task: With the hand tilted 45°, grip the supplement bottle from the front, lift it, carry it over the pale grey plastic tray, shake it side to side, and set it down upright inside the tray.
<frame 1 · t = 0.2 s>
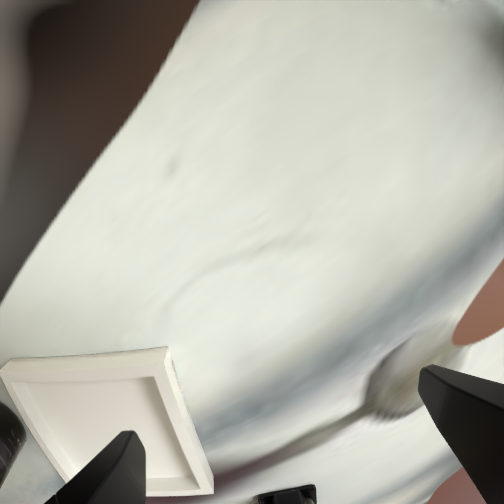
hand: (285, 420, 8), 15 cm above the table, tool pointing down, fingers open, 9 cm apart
supplement bottle: (4, 419, 24), on the table
tray: (110, 427, 24), on the table
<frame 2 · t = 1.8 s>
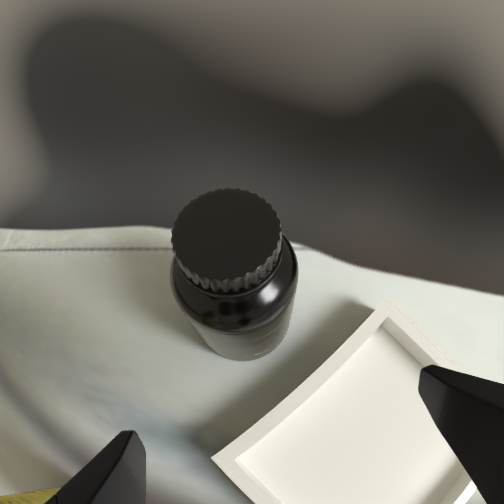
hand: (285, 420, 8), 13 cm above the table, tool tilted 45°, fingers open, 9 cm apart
supplement bottle: (243, 320, 24), on the table
tray: (378, 455, 18), on the table
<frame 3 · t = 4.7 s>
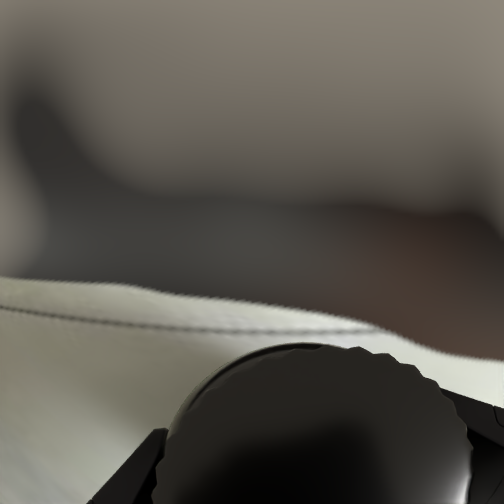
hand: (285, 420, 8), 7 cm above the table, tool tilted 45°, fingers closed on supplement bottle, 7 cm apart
supplement bottle: (284, 450, 13), on the table, touching gripper
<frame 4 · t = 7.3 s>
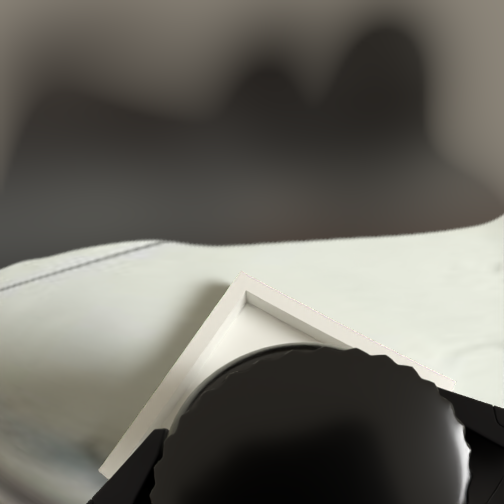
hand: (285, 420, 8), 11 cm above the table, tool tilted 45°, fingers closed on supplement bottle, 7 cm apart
supplement bottle: (286, 449, 14), point 4 cm above the table, touching gripper
tray: (283, 445, 17), on the table
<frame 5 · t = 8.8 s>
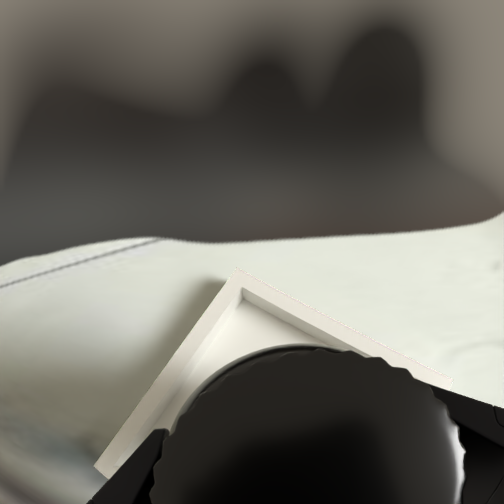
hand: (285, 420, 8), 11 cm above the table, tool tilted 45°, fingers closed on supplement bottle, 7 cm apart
supplement bottle: (287, 448, 14), point 4 cm above the table, touching gripper
tray: (279, 442, 17), on the table
when the fingers open (8 cm above the table, at t = 9.9 s): supplement bottle stays where it is, resting on tray.
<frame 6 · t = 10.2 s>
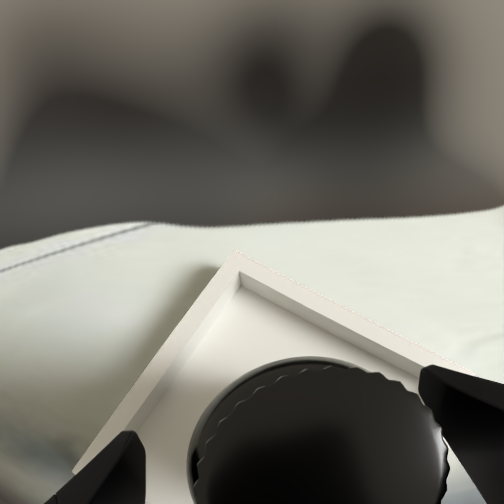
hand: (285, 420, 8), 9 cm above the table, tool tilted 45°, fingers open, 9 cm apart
supplement bottle: (288, 450, 15), resting on tray
tray: (281, 448, 15), on the table
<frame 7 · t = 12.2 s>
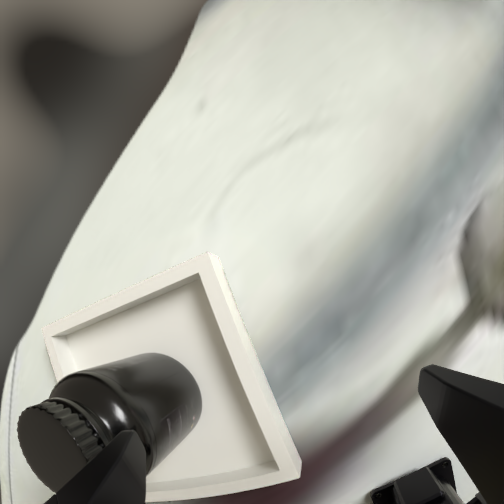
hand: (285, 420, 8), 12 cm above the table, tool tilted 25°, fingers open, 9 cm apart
supplement bottle: (162, 395, 21), resting on tray
tray: (162, 396, 22), on the table
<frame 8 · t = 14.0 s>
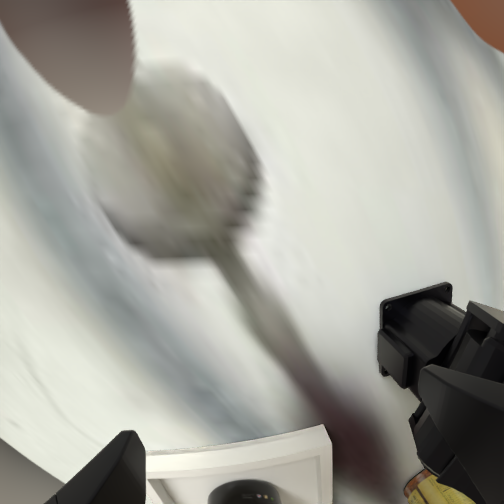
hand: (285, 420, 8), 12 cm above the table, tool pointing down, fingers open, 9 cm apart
sauce bottle: (423, 476, 28), on the table
supplement bottle: (243, 494, 24), resting on tray
tray: (244, 492, 25), on the table
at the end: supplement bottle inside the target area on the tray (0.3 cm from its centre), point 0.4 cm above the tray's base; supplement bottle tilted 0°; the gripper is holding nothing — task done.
